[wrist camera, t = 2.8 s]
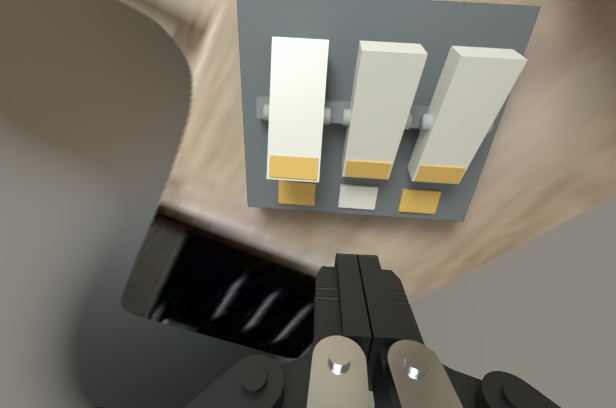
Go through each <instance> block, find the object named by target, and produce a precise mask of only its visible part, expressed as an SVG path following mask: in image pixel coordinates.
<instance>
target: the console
mask: <svg viewBox="0 0 616 408" xmlns="http://www.w3.org/2000/svg"><path fill="white" fill-rule="evenodd" d="M540 8H541V6H525V5H506V4H488V3H470V2H451V1H433V0H237V14H238V32H239V51H240V69H241V88H242V106H243V125H244V143H245V162H246V181H247V199H248V207H259V208H274V209H288V210H303V211H318V212H332V213H347V214H362V215H376V216H391V217H406V218H420V219H435V220H449V221H464V219H465V216H466V213H467V210H468V208H469V205H470V202H471V199H472V196H473V194H474V191H475V188H476V185H477V183H478V180H479V177H480V174H481V171H482V169H483V166H484V163H485V160H486V158H487V155H488V152H489V149H490V146H491V144H492V141H493V138H494V135H495V133H496V130H497V127H498V124H499V122H500V119H501V116H502V113H503V110H504V108H505V105H506V102H507V99H508V97H509V95H508V96H507V98H506V100H505V102H504V104H503V105H502V107H501V109H500V111H499V113H498V114H497V116H496V118H495V120H494V126H493V129H492V131H491V132H490V133H489V134H486V136H485V138H484V139H483V141H482V143H481V145H480V147H479V148H478V150H477V152H476V154H475V156H474V157H473V159H472V161H471V163H470V165H469V166H468V168H467V170H466V172H465V174H464V175H463V177H462V179H461V181H460V182H459V184H447V183H432V182H417V181H412V180H411V177H410V174H409V171H408V167H407V166H408V164H409V161H410V158H411V155H412V153H413V150H414V147H415V144H416V142H417V139H418V136H419V133H420V131H421V130H420V129H419V122H420V118H421V116H422V114H427V111H428V108H429V106H430V103H431V100H432V97H433V95H434V92H435V89H436V86H437V84H438V81H439V78H440V75H441V73H442V70H443V67H444V64H445V62H446V59H447V56H448V53H449V51H450V48H451V46H466V47H484V48H501V49H513V50H515V51H516V52H518V53H519V54H520V55H522V56H523V55H524V52H525V49H526V47H527V44H528V41H529V38H530V36H531V33H532V30H533V27H534V24H535V22H536V19H537V16H538V13H539V11H540ZM272 37H290V38H307V39H324V40H329V48H328V62H327V76H326V90H325V104H324V108H331V114H330V124H329V125H328V124H323V133H322V147H321V161H320V175H319V182H305V181H289V180H274V179H266V178H267V153H268V128H269V121H265V120H264V116H263V109H264V104H269V102H270V77H271V51H272ZM360 40H361V41H379V42H396V43H414V44H421V45H422V47H423V48H424V49H425V51H426V52H427V54H428V55H427V59H426V62H425V65H424V68H423V71H422V75H421V78H420V81H419V84H418V87H417V90H416V94H415V97H414V100H413V103H412V106H411V109H410V113H411V115H412V121H411V125H410V128H409V129H404V132H403V135H402V138H401V141H400V144H399V148H398V151H397V154H396V157H395V160H394V163H393V167H392V170H391V173H390V176H389V179H388V180H386V179H371V178H356V177H342V163H341V162H342V156H343V149H344V142H345V136H346V129H347V126H344V125H342V117H343V110H344V109H350V102H351V95H352V89H353V82H354V75H355V69H356V62H357V55H358V48H359V42H360ZM509 94H510V93H509Z"/></svg>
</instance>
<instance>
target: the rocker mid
mask: <svg viewBox="0 0 616 408" xmlns="http://www.w3.org/2000/svg"><path fill="white" fill-rule="evenodd" d="M427 55H428V54H427V52H426V51H425V49H424V48H423V47H422V45H421V44H414V43H396V42H379V41H361V40H360V42H359V48H358V55H357V62H356V69H355V75H354V82H353V89H352V95H351V102H350V109H344V110H343V117H342V125H344V126H347V129H346V136H345V142H344V149H343V156H342V162H341V163H342V177H356V178H371V179H386V180H388V179H389V176H390V173H391V170H392V167H393V163H394V160H395V157H396V154H397V151H398V148H399V144H400V141H401V138H402V135H403V132H404V129H409V128H410V125H411V121H412V115H411V113H410V109H411V106H412V103H413V100H414V97H415V94H416V90H417V87H418V84H419V81H420V78H421V75H422V71H423V68H424V65H425V62H426V59H427Z"/></svg>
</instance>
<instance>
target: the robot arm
mask: <svg viewBox="0 0 616 408" xmlns="http://www.w3.org/2000/svg"><path fill="white" fill-rule="evenodd" d="M369 391H373V396H374V402H375V407H374V408H561V407H559V406H558V405H556V404H555V403H554V402H552V401H551V400H550V399H548V398H547V397H546V396H544V395H543V394H542V393H540V392H539V391H537V390H536V389H534V388H533V387H532V386H531V385H529V384H528V383H526V382H525V381H523V380H522V379H520V378H518V377H517V376H514V375H512V374H509V373H506V372H501V371H493V372H490V373H487V374H486V375H485V376H484V378H483V379H482V380H480V379H477V378H474V377H471V376H468V375H466V374H463V373H460V372H457V371H455V370H452V369H450V368H448V367H447V366H445V365H443V364H442V363H441V361H440V360H439V358H438V357H437V355H436V354H435V353H434V352H433V351H432V350H431V349H429V348H428V347H426V346H425V344H424V342H423V340H422V337H421V334H420V331H419V329H418V326H417V323H416V321H415V319H414V315H413V312H412V310H411V307H410V304H408V299H407V296H406V294H405V291H404V288H403V285H402V283H401V280H400V279H399V278H398V277H397V276H396V275H395V274H394V273H393V272H392V270H381V267H380V263H379V260H378V257H377V256H376V255H358V254H357V255H356V254H339V253H336V257H335V267H325V266H322V267H321V269H320V270H319V272H318V274H317V275H316V287H315V303H314V335H313V345H312V347H311V348H310V349H309V351H308V352H307V353H306V354H305V355H303V356H302V357H300V358H298V359H296V360H293V361H290V362H286V363H283V364H278V363H277V362H276V361H274V360H273V359H272V358H270V357H267V356H264V355H252V356H248V357H246V358H244V359H242V360H240V361H239V362H238V363H236V364H235V365H234V366H233V367H231V368H230V369H229V370H228V371H227V372H226V373H224V374H223V375H222V376H221V377H220V378H219V379H217V380H216V381H215V382H214V383H213V384H212V385H211V386H209V387H208V388H207V389H206V390H205V391H204V392H203V393H201V394H200V395H199V396H198V397H197V398H196V399H194V400H193V401H192V402H191V403H190V404H189V405H187V406H186V407H185V408H370V403H369Z"/></svg>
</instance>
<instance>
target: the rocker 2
mask: <svg viewBox="0 0 616 408" xmlns="http://www.w3.org/2000/svg"><path fill="white" fill-rule="evenodd" d="M527 61H528V60H527V59H526V58H525V57H523V56H522V55H520V54H519V53H518V52H516V51H515V50H513V49H501V48H484V47H466V46H451V48H450V51H449V53H448V56H447V59H446V62H445V64H444V67H443V70H442V73H441V75H440V78H439V81H438V84H437V86H436V89H435V92H434V95H433V97H432V100H431V103H430V106H429V108H428V111H427V114H422V116H421V118H420V122H419V129H420V130H421V131H420V133H419V136H418V139H417V142H416V144H415V147H414V150H413V153H412V155H411V158H410V161H409V164H408V166H407V167H408V171H409V174H410V177H411V180H412V181H417V182H432V183H447V184H459V182H460V181H461V179H462V177H463V175H464V174H465V172H466V170H467V168H468V166H469V165H470V163H471V161H472V159H473V157H474V156H475V154H476V152H477V150H478V148H479V147H480V145H481V143H482V141H483V139H484V138H485V136H486V134H489V133H490V132H491V131H492V129H493V126H494V120H495V118H496V116H497V114H498V113H499V111H500V109H501V107H502V105H503V104H504V102H505V100H506V98H507V96H508V95H509V93H510V91H511V89H512V88H513V86H514V84H515V82H516V80H517V79H518V77H519V75H520V73H521V71H522V70H523V68H524V66H525V64H526V62H527Z"/></svg>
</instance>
